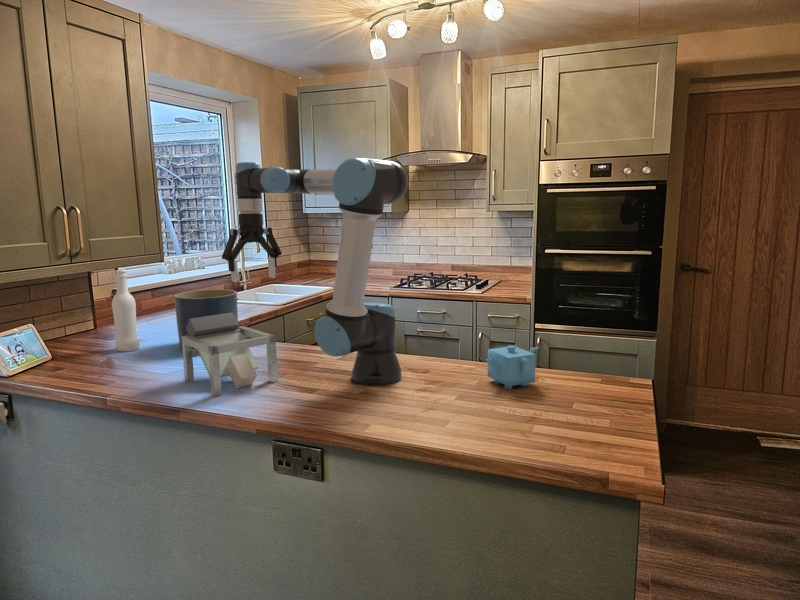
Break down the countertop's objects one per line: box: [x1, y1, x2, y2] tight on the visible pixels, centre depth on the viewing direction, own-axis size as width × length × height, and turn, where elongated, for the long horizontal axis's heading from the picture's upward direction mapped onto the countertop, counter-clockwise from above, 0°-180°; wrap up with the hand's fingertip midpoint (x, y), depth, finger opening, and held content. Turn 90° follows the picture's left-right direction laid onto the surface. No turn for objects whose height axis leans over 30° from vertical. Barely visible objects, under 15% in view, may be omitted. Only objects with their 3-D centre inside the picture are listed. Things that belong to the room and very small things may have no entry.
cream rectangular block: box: [226, 354, 258, 390], centre depth 163 cm, size 5×5×8 cm
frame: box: [181, 325, 279, 398], centre depth 166 cm, size 20×20×14 cm
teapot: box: [485, 345, 540, 390], centre depth 161 cm, size 16×18×11 cm
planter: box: [173, 288, 239, 352], centre depth 210 cm, size 22×22×20 cm
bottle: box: [111, 268, 141, 353], centre depth 205 cm, size 8×8×30 cm
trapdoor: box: [186, 312, 260, 378], centre depth 169 cm, size 20×15×5 cm
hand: (254, 279), depth 179 cm, fingers open, 13 cm apart
